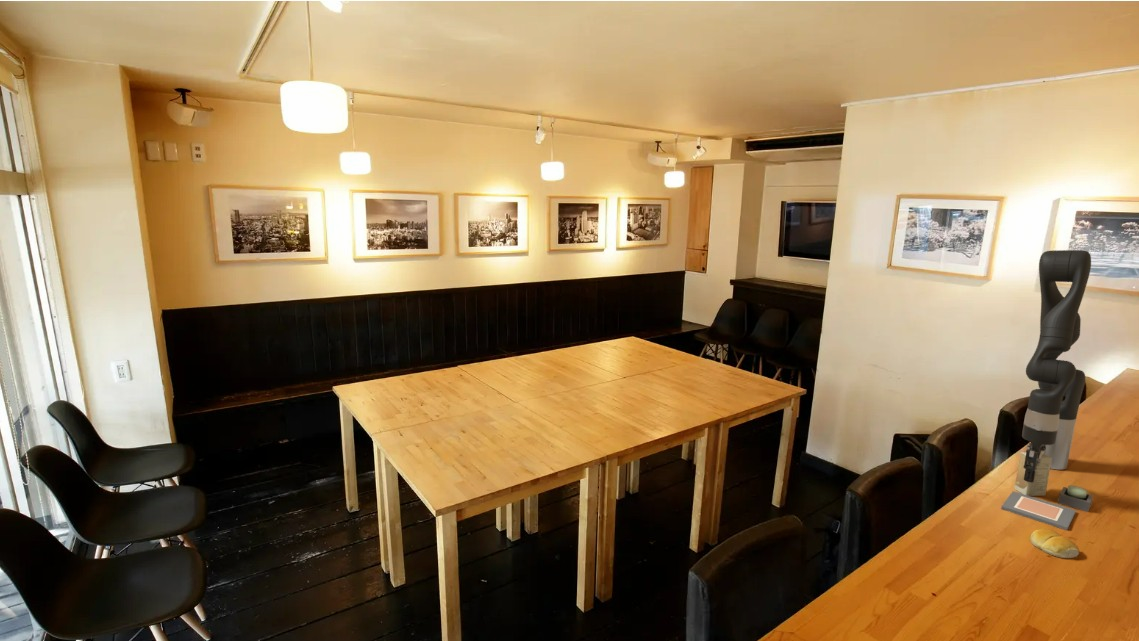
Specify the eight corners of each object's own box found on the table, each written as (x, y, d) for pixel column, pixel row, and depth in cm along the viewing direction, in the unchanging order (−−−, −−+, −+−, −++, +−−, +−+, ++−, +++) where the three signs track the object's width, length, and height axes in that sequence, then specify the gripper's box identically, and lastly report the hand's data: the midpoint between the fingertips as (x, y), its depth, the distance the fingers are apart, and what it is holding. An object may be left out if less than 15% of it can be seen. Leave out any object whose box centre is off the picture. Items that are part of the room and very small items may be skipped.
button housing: (1061, 495, 160) (1063, 486, 160) (1091, 504, 155) (1093, 495, 155) (1057, 502, 156) (1059, 494, 156) (1088, 512, 151) (1089, 502, 151)
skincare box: (1033, 488, 164) (1040, 451, 162) (1046, 495, 160) (1053, 457, 158) (1012, 489, 164) (1019, 451, 162) (1025, 496, 160) (1032, 458, 157)
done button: (1068, 489, 158) (1069, 484, 158) (1086, 495, 155) (1088, 489, 155) (1065, 494, 156) (1066, 488, 155) (1084, 499, 153) (1085, 493, 152)
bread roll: (1048, 536, 140) (1051, 522, 140) (1084, 558, 132) (1087, 543, 131) (1020, 538, 140) (1022, 524, 139) (1054, 560, 131) (1057, 545, 130)
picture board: (1012, 493, 161) (1012, 490, 161) (1075, 512, 151) (1076, 509, 151) (1001, 508, 153) (1001, 505, 153) (1067, 530, 143) (1067, 527, 143)
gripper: (1029, 415, 165) (1021, 465, 168) (1018, 427, 156) (1009, 480, 159) (1062, 422, 160) (1052, 474, 163) (1052, 435, 150) (1042, 489, 154)
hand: (1031, 477), depth 161 cm, fingers closed on skincare box, 7 cm apart
